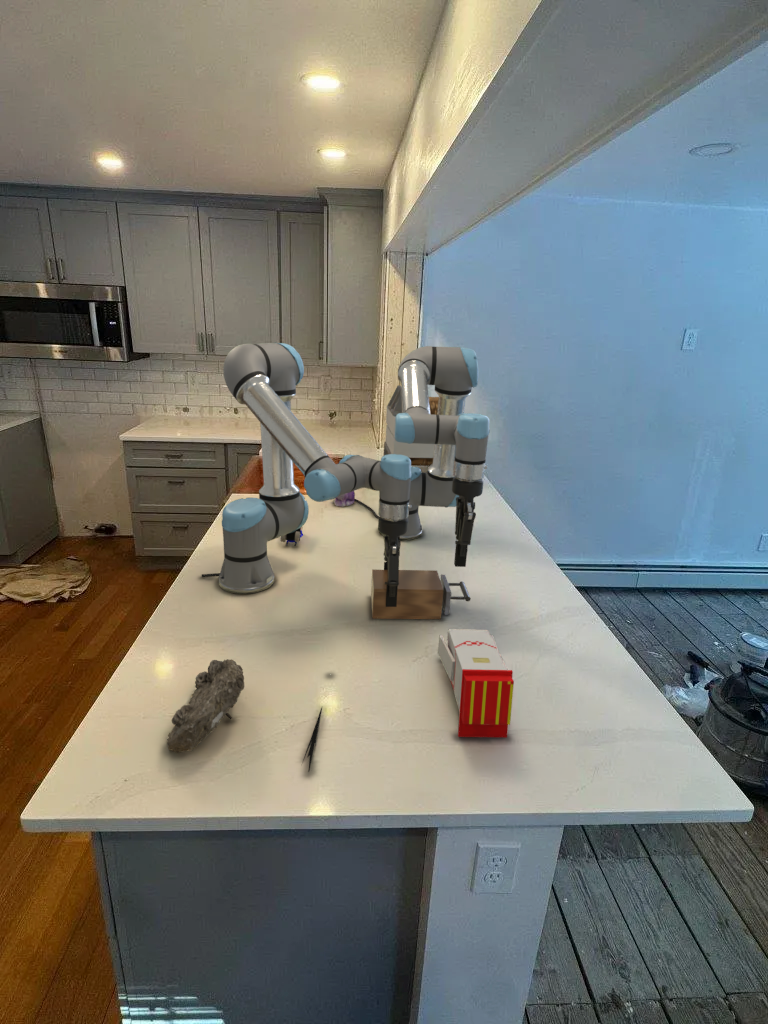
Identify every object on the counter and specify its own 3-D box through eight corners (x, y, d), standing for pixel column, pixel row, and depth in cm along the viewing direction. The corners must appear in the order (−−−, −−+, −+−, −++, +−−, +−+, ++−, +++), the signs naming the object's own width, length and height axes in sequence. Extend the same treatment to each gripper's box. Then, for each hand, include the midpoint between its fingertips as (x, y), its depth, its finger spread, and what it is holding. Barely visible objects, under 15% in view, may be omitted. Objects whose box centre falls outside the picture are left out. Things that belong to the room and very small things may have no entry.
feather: (331, 679, 122) (336, 673, 122) (307, 777, 96) (313, 769, 95) (324, 675, 122) (329, 669, 121) (298, 772, 95) (304, 764, 95)
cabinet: (434, 598, 156) (437, 570, 153) (440, 619, 146) (443, 589, 143) (370, 597, 155) (372, 569, 152) (372, 618, 145) (373, 588, 142)
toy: (488, 613, 130) (523, 677, 101) (484, 667, 133) (517, 744, 104) (435, 612, 130) (455, 676, 101) (432, 666, 133) (451, 743, 103)
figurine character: (300, 552, 184) (305, 530, 197) (300, 532, 181) (305, 511, 194) (280, 552, 184) (286, 530, 197) (279, 531, 180) (285, 510, 194)
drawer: (462, 596, 156) (464, 574, 154) (469, 615, 147) (472, 592, 144) (383, 595, 155) (384, 573, 152) (385, 614, 145) (386, 591, 143)
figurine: (338, 508, 222) (338, 471, 216) (328, 500, 230) (328, 464, 225) (360, 505, 226) (361, 469, 221) (349, 498, 234) (350, 462, 229)
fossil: (192, 660, 117) (244, 628, 112) (224, 691, 120) (276, 661, 115) (142, 746, 98) (202, 712, 93) (182, 779, 101) (242, 748, 96)
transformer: (382, 463, 289) (386, 382, 275) (445, 464, 293) (451, 384, 279) (390, 482, 257) (394, 392, 243) (460, 483, 261) (468, 394, 247)
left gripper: (413, 534, 131) (408, 618, 138) (404, 501, 153) (400, 575, 160) (380, 534, 130) (377, 617, 138) (376, 501, 152) (373, 574, 160)
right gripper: (489, 486, 133) (479, 576, 141) (477, 471, 146) (469, 555, 154) (458, 485, 133) (449, 576, 141) (448, 470, 145) (441, 554, 153)
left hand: (389, 594), depth 149 cm, fingers closed on cabinet, 11 cm apart
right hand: (459, 565), depth 147 cm, fingers closed
